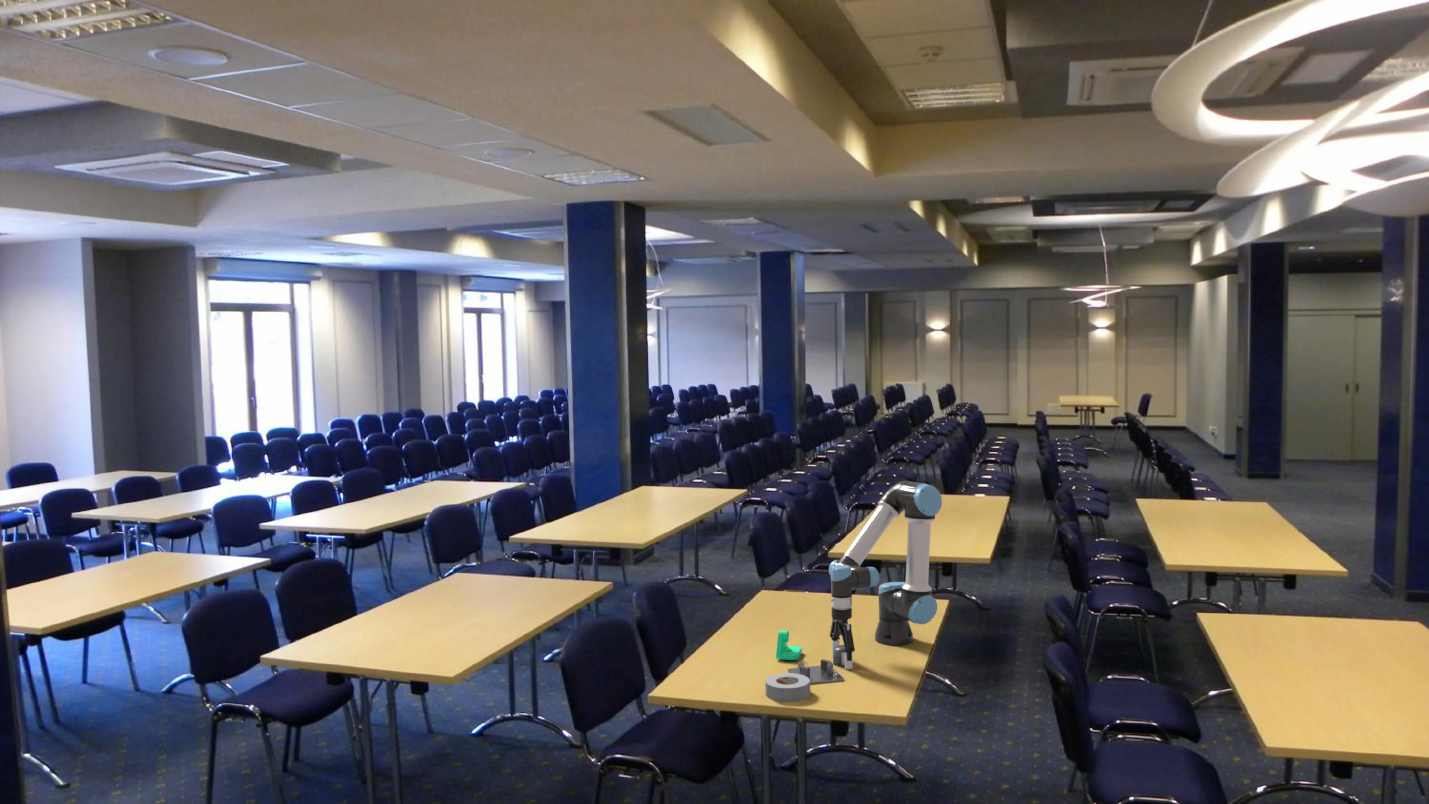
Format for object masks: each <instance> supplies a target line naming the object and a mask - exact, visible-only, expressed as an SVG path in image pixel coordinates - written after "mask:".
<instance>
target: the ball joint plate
mask: <svg viewBox="0 0 1429 804" xmlns="http://www.w3.org/2000/svg"><path fill="white" fill-rule="evenodd" d="M804 662H805V661H799V662H798V663H797V667H791V668H787V673H795V674H801V675H804V676H806V677H808V678H809V679H810V685H817V684H825V683H834V682H835V683H836V682H844V681H845V678H844V677H843V675H841V674H840V673H839V672H838V671H836V670H835V668H834V664H833V661H830V660H828V659H826V658H825V659H824V658H823V659H821V660H820V665H813V666H805V665H804V664H805V663H804Z"/></svg>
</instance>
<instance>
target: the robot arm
mask: <svg viewBox="0 0 1429 804" xmlns="http://www.w3.org/2000/svg"><path fill="white" fill-rule="evenodd" d="M942 504H943V498H942V495H941V493H940V491H939V490H938V489H937V487H935V486H934V485H931V484H927V483H924V482H923V483H922V482H915V481H910V480H903V481H902V480H901V481H899V482H897V483H895V484H894V485H892V486H891V487H890V488H889V489H888V490H887V491H886V492H885V493H884V494H883V495H882V497H881V498H880V499H879V501H878V502H877V505H878V506H877V507H876V509H875V510H874V511H873V513H872V515H870V518H869V519H868V520H867V522H866V523H865V524H864V525H863V527H862V528H861V530H860V531H859V533H858V534H857V535H856V537H855V538H854V539H853V540H852V542H851V543H850V545H849V546H848V548H847V550H846V551H845V552H844V553H843V555H842V556H841V557H840V559H835V560H833V561H831V563H830V564H829V567H828V574H829V576H830V586H831V587H830V589H831V590H830V593H831V599H829V600H830V602H831V618H832V622H831V625H830V626H831V627H830V631H829V637H830V638H831V654H832V656H831V657H832V659H833V647H834V646H838V645H841V644H840V641H841V638H840V636H842V642H843V645H844V646H845V651H844V653H845V667H844V669H845V670H852V669H853V652H855V650H856V649H855V644H854V643H855V642H854V637H853V631H852V623H849V622H848V621H849V620H850V619H852V617H853V614H852V613H853V608H852V607H853V595H852V594H853V591H855V590H861V589H862V590H863V589H870V588H874V587H876V586H877V585H878V584H879V582H880V573H879V571H878V569H877V568H876V567H874V566H866V567H862V566H861V565H862V564H863V562H864V561H865V559H866V558H867V557H868V555H869V553H870V552H871V550H872V549H873V548H874V546H875V545H876V544H877V542H878V541H879V539H880V538H881V537H882V535H883V534H884V532H885V531H886V530H887V528H888V527H889V525H890V524H891V523H892V521H893V520H894V519H895V518H899V516H900V514H902V513H903V512H904V518H905V520H906V521H907V523H908V525H907V545H906V547H907V548H906V567H905V569H906V570H905V581H891V582H884V583H882V584H880V585H879V586H878V594H877V595H878V622H877V626H876V630H875V633H874V640H875V642H878V643H880V644H883V645H889V646H903V645H908V644H911V643H912V642H914V634H913V631H912V628H911V625H910V622H911V623H913V624H918V625H925V624H928V623H930V622H931V621H932V619H934V618H935V616H936V614H937V612H938V602H937V600H936V598H935V597H933V595H932V594H933V590H932V589H933V588H932V587H931V586H930V585H929V574H930V573H929V570H930V548H931V547H930V544H931V527H932V526H931V525H932V522H934V521H935V519H936V516H937V514H938V513H939V512H940V510H941V509H942Z"/></svg>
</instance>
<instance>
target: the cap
mask: <svg viewBox="0 0 1429 804" xmlns="http://www.w3.org/2000/svg"><path fill="white" fill-rule="evenodd" d="M844 651H845V646H844V644H843V645H842V644H840V645H838V646H834V647H833V658H832V663H833V666H836V667H842V668H843V667H844V668H845V653H844Z"/></svg>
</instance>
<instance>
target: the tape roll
mask: <svg viewBox="0 0 1429 804" xmlns="http://www.w3.org/2000/svg"><path fill="white" fill-rule="evenodd" d="M764 682H765V696H766V697H767V698H768V699H770V700H773V701H777V702H782V703H794V702H795V703H796V702H801V701H805V700H807V699H808V698H810V697H811V684H810V679H809V678H808V677H806V676H804V675H801V674H795V673H789V672H785V673H778V674H777V673H776V674H773V675H770V676H768V677H767V678H766V679H765V681H764Z"/></svg>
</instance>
